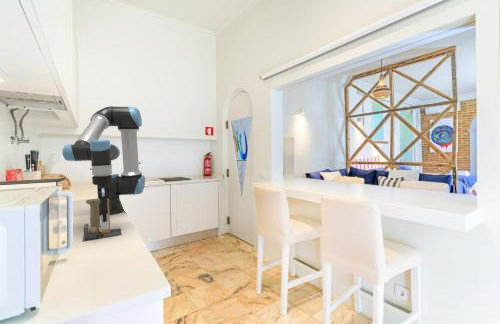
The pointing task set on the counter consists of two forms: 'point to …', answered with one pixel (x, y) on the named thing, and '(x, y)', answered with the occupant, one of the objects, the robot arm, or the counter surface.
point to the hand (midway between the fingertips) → (105, 227)
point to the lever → (106, 231)
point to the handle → (94, 212)
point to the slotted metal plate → (94, 235)
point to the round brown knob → (94, 230)
